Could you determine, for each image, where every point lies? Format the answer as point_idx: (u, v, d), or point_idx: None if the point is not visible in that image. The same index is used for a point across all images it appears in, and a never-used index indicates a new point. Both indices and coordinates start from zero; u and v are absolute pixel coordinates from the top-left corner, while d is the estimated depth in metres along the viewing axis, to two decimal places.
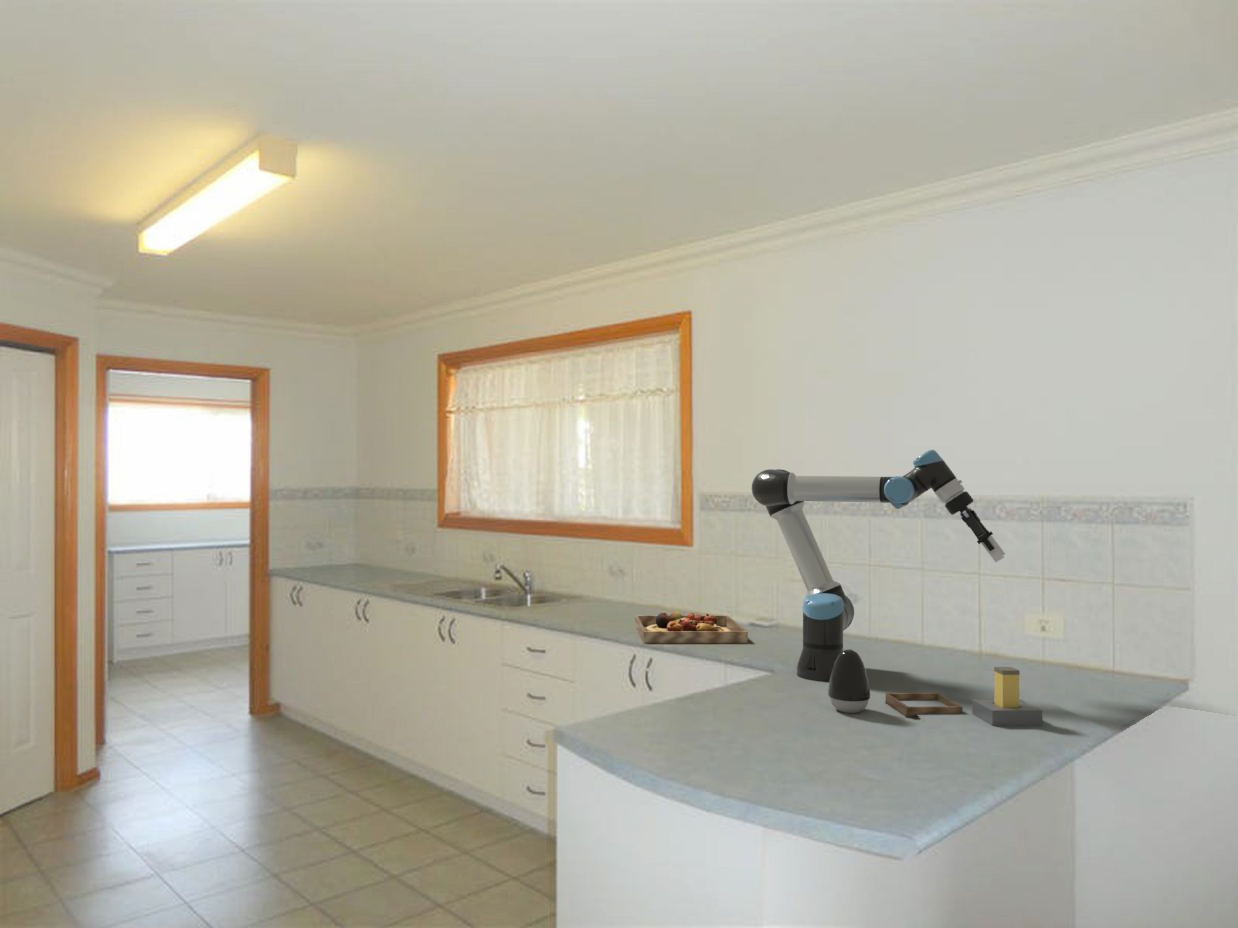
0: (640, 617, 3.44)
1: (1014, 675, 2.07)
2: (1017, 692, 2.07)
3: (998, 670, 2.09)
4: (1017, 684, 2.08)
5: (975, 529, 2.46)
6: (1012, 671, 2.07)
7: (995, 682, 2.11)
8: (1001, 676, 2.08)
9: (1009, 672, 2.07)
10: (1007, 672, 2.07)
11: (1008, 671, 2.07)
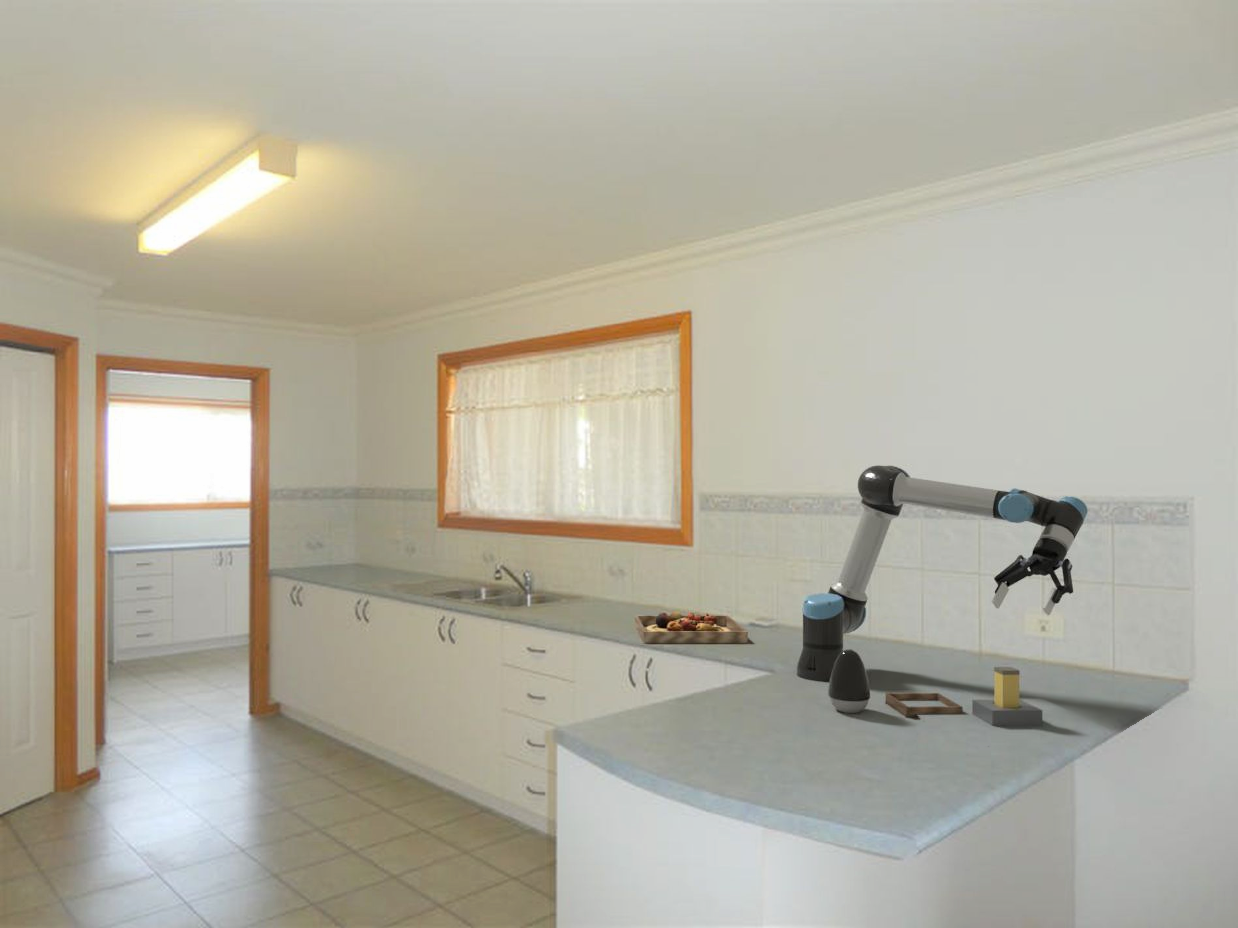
0: (640, 617, 3.44)
1: (1014, 675, 2.07)
2: (1017, 692, 2.07)
3: (998, 670, 2.09)
4: (1017, 684, 2.08)
5: (1069, 579, 2.18)
6: (1012, 671, 2.07)
7: (995, 682, 2.11)
8: (1001, 676, 2.08)
9: (1009, 672, 2.07)
10: (1007, 672, 2.07)
11: (1008, 671, 2.07)
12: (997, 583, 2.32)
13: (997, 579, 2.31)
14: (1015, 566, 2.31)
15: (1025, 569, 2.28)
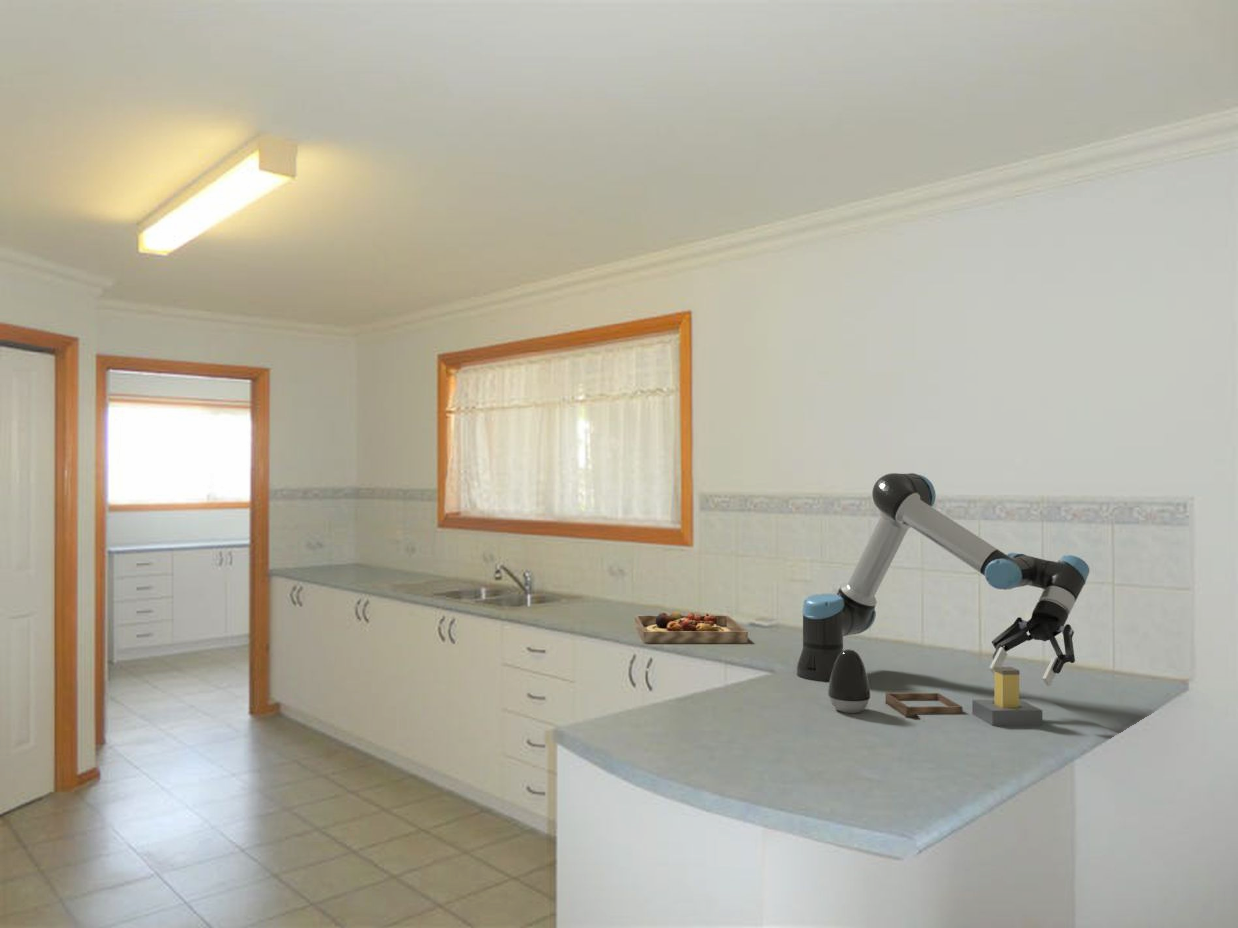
0: (640, 617, 3.44)
1: (1014, 675, 2.07)
2: (1017, 692, 2.07)
3: (998, 670, 2.09)
4: (1017, 684, 2.08)
5: (1071, 647, 2.07)
6: (1012, 671, 2.07)
7: (995, 682, 2.11)
8: (1001, 676, 2.08)
9: (1009, 672, 2.07)
10: (1007, 672, 2.07)
11: (1008, 671, 2.07)
12: (995, 647, 2.21)
13: (995, 643, 2.21)
14: (1014, 629, 2.21)
15: (1024, 633, 2.17)
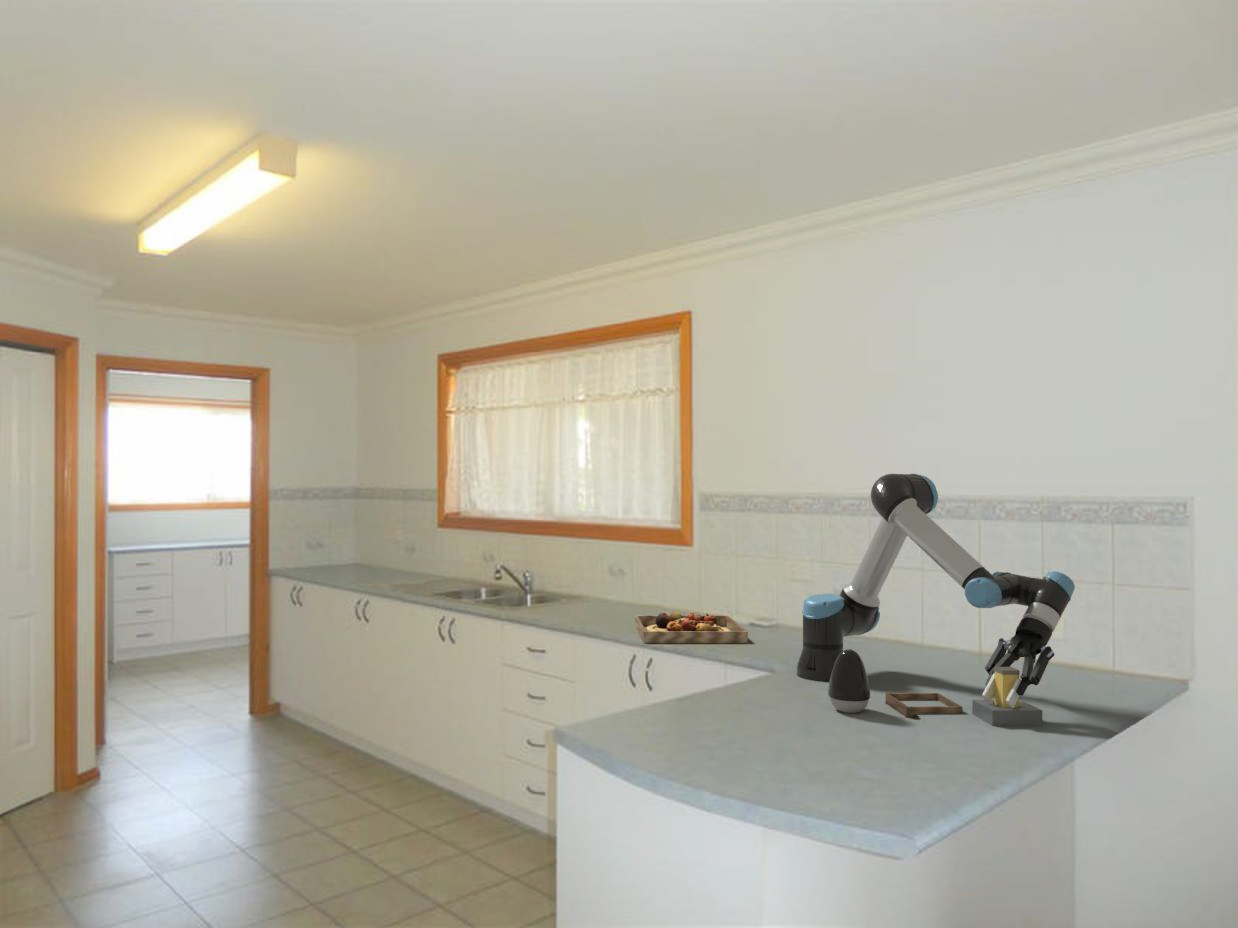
0: (640, 617, 3.44)
1: (1014, 675, 2.07)
2: None
3: (998, 670, 2.09)
4: None
5: (1040, 670, 2.06)
6: (1012, 671, 2.07)
7: (995, 682, 2.11)
8: (1001, 676, 2.08)
9: (1009, 672, 2.07)
10: (1007, 672, 2.07)
11: (1008, 671, 2.07)
12: (988, 673, 2.15)
13: (989, 668, 2.14)
14: (1000, 651, 2.17)
15: (1012, 653, 2.14)
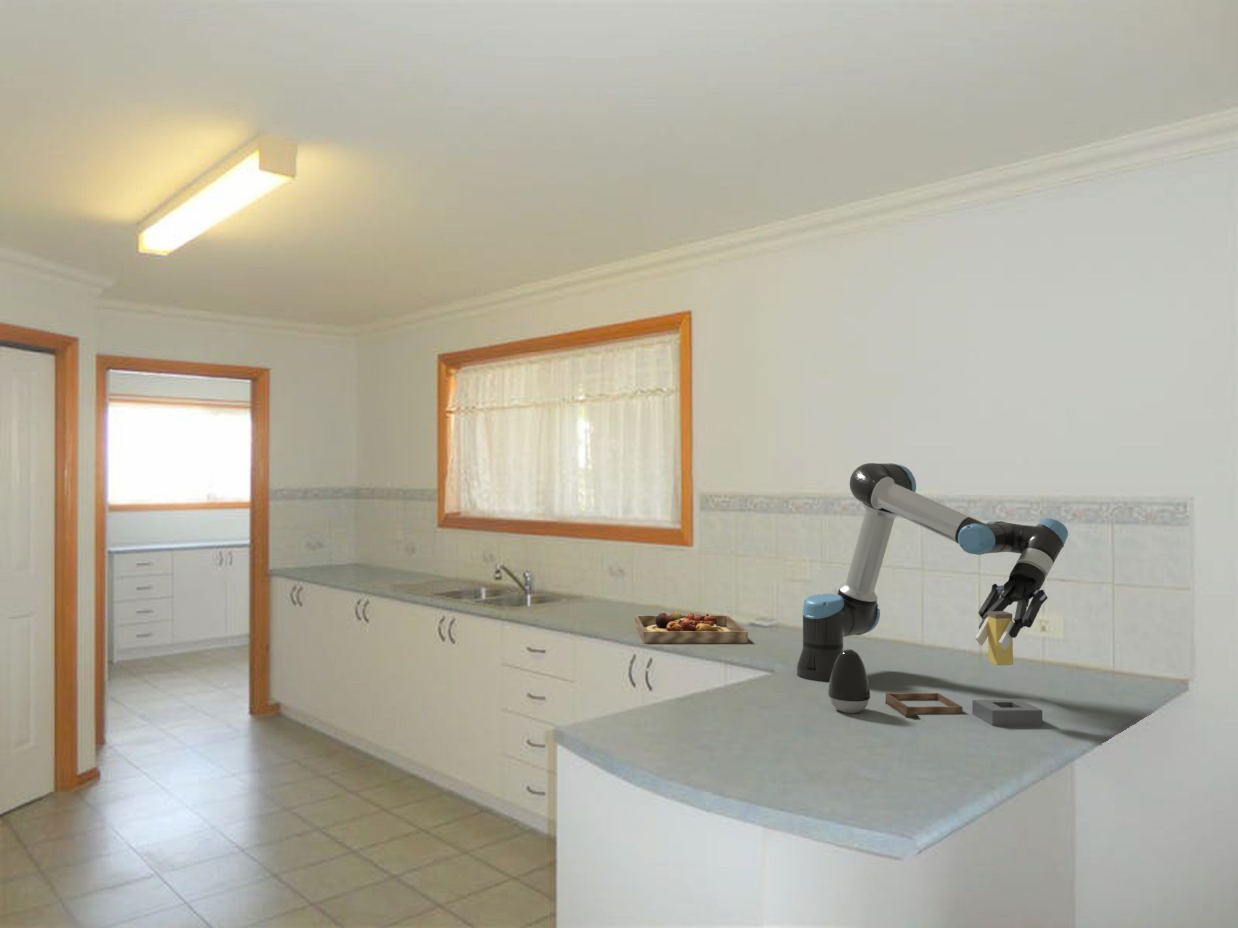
0: (640, 617, 3.44)
1: (1007, 619, 2.09)
2: None
3: (991, 614, 2.10)
4: None
5: (1033, 613, 2.07)
6: (1005, 615, 2.08)
7: (988, 627, 2.12)
8: (994, 620, 2.09)
9: (1002, 616, 2.08)
10: (1000, 616, 2.08)
11: (1001, 615, 2.08)
12: (981, 617, 2.16)
13: (982, 613, 2.15)
14: (994, 596, 2.18)
15: (1005, 597, 2.15)
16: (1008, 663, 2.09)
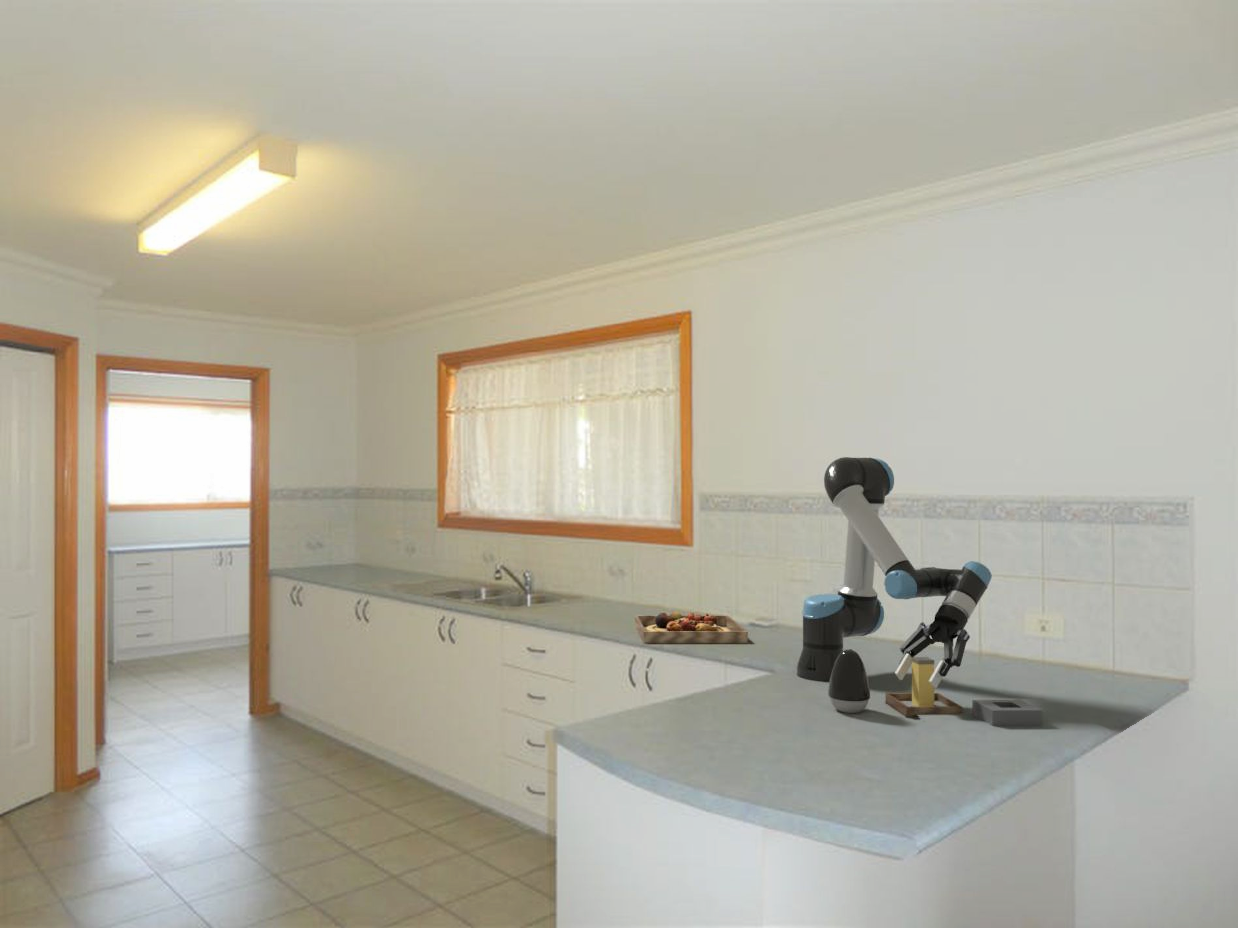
0: (640, 617, 3.44)
1: (929, 665, 2.20)
2: None
3: (915, 660, 2.22)
4: (932, 673, 2.20)
5: (960, 652, 2.17)
6: (927, 661, 2.20)
7: (912, 672, 2.23)
8: (917, 666, 2.20)
9: (924, 662, 2.20)
10: (923, 662, 2.20)
11: (924, 661, 2.20)
12: (903, 653, 2.29)
13: (903, 649, 2.28)
14: (918, 634, 2.30)
15: (927, 637, 2.26)
16: None
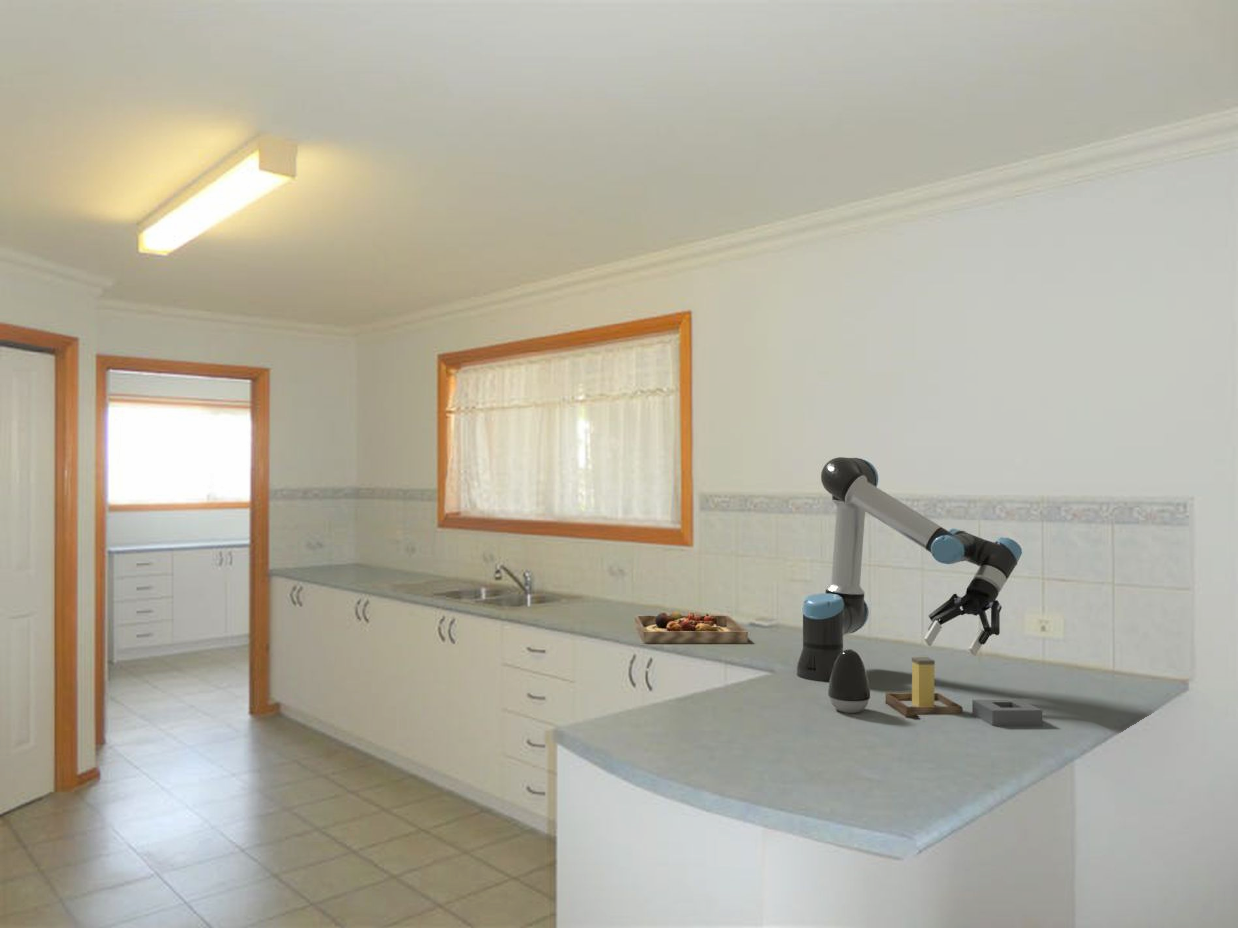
0: (640, 617, 3.44)
1: (930, 665, 2.20)
2: (932, 681, 2.20)
3: (915, 660, 2.22)
4: (932, 673, 2.20)
5: (997, 621, 2.25)
6: (928, 661, 2.20)
7: (912, 672, 2.23)
8: (917, 666, 2.20)
9: (925, 662, 2.20)
10: (923, 662, 2.20)
11: (924, 661, 2.20)
12: (931, 620, 2.40)
13: (931, 616, 2.39)
14: (949, 604, 2.39)
15: (958, 608, 2.36)
16: None
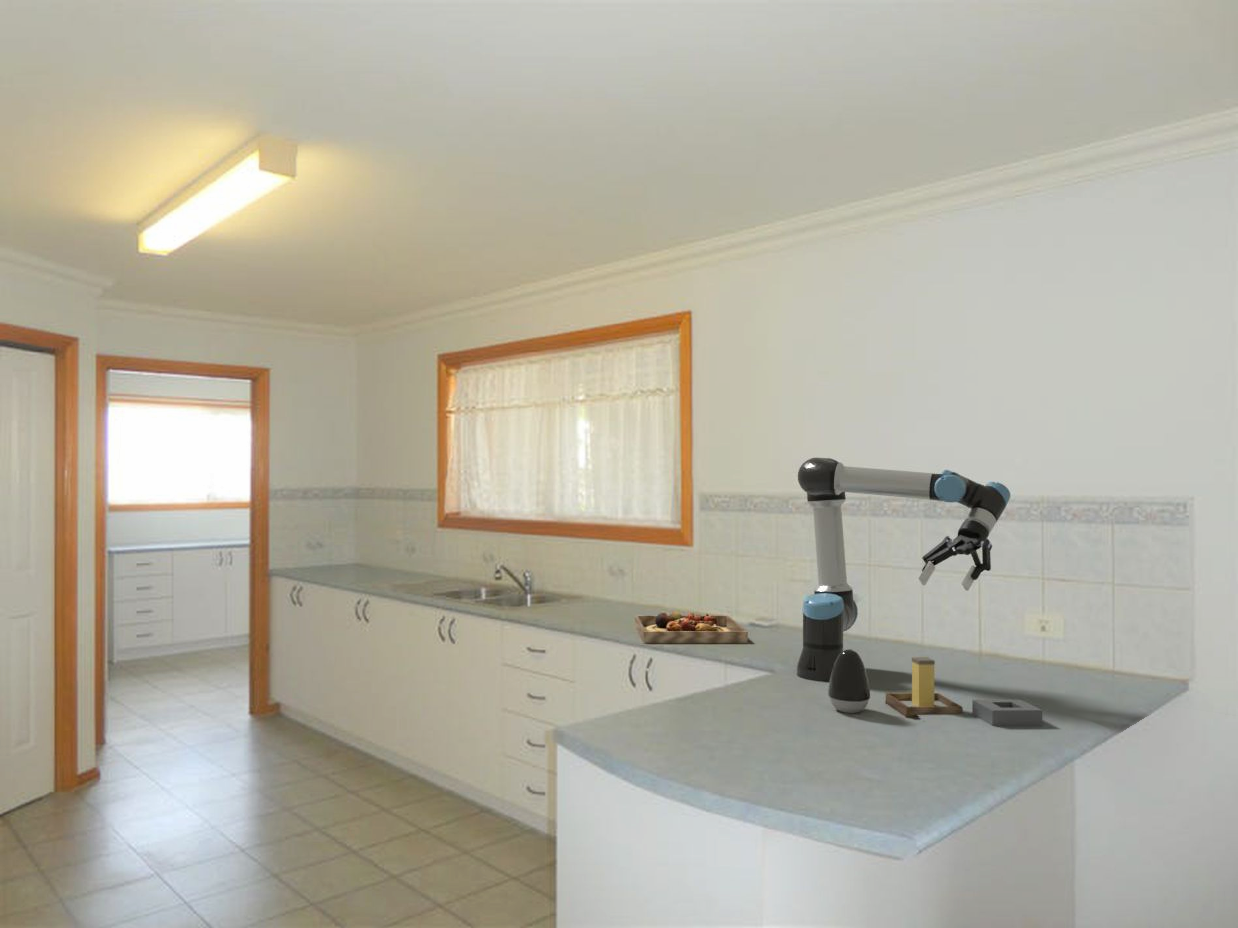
0: (640, 617, 3.44)
1: (930, 665, 2.20)
2: (932, 681, 2.20)
3: (915, 660, 2.22)
4: (932, 673, 2.20)
5: (988, 558, 2.35)
6: (928, 661, 2.20)
7: (912, 672, 2.23)
8: (917, 666, 2.20)
9: (925, 662, 2.20)
10: (923, 662, 2.20)
11: (924, 661, 2.20)
12: (925, 562, 2.49)
13: (925, 558, 2.49)
14: (942, 546, 2.49)
15: (950, 549, 2.45)
16: None
